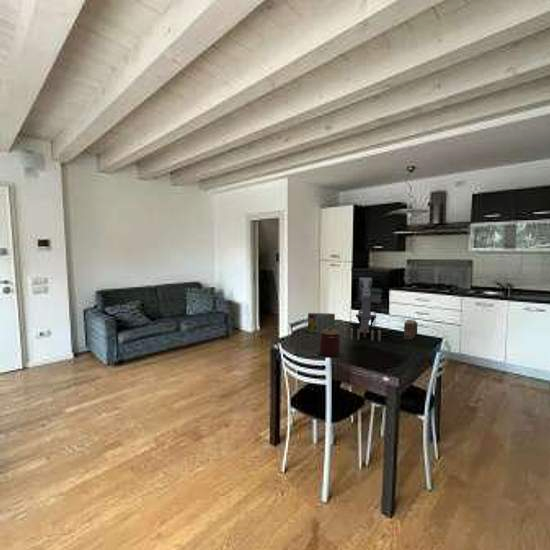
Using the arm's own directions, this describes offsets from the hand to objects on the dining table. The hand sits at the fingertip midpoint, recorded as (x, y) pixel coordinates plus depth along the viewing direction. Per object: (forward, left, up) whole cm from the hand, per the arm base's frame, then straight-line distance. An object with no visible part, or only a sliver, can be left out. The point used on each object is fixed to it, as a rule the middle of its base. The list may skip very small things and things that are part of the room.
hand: (365, 327), depth 249 cm
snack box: (-13, -34, -10) cm, 38 cm away
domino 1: (0, -15, -9) cm, 18 cm away
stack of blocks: (-18, +35, -10) cm, 40 cm away
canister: (+39, -24, -10) cm, 47 cm away
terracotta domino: (-8, 0, -9) cm, 12 cm away
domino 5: (0, +10, -9) cm, 14 cm away
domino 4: (0, +5, -9) cm, 11 cm away
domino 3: (0, -5, -9) cm, 10 cm away
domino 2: (0, -10, -9) cm, 14 cm away
